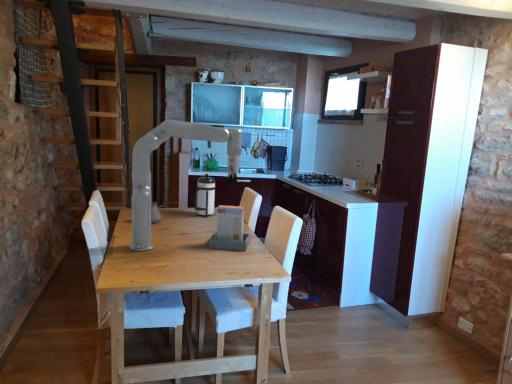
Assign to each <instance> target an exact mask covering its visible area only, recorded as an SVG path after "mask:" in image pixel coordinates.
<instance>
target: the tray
mask: <svg viewBox="0 0 512 384" xmlns="http://www.w3.org/2000/svg"><path fill="white" fill-rule="evenodd" d="M216 238H217V230H215V231H214V232H213V234H212V235H211V236H210V237H209V239H208V248H209V249H218V250H229V251H238V252H239V251H241V252H246V251H247V249H248V246H249V244H250V239H251V234H250V233H247V232H246V233H244V232H243V241H232V240H220V239H216Z"/></svg>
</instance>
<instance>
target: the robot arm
mask: <svg viewBox="0 0 512 384" xmlns="http://www.w3.org/2000/svg"><path fill="white" fill-rule="evenodd" d="M242 137H243V130H242V129H240V128H235V127H232V128H226V127H223V126H222V127H220V126H219V127H218V126H210V125H205V124H201V123H198V122H197V123H196V122H190V121H182V120H174V119H166V120H164V121H162V122H161V123H160V124H159V125H157V126H156V127H154V128H153V129H152V130H150V131H149V132H147V133H145V135H143V136H142V137H140V138H139V139H137V141H136V142H135V144H134V146H133V148H132V159H131V162H132V164H131V165H132V172H131V178H132V179H131V181H132V182H131V183H132V194H131V243H130V244H129V245H128V249H129V250H131V251H136V252H146V251H150V250H152V249H154V247H155V244H154V243H152V224H151V202H152V172H151V166H150V165H151V154H152V152H153V151H154V150H155V151H156V150H157V149H158V148H159V147H160V145H161V144H163V143H164V142H166V141H168V139H170V138H177V139H186V140H193V141H194V140H195V141H205V142H214V143H227V144H226V155H228V157H227V183H226V184H227V186H234V184H236V183H237V181H238V180H237V179H238V176H237V174H238V173H239V172H240V156H242V155H241V154H242Z"/></svg>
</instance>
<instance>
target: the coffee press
mask: <svg viewBox="0 0 512 384" xmlns="http://www.w3.org/2000/svg"><path fill="white" fill-rule="evenodd" d="M196 181H197V182H196V183H197V186H196V187H197V188H195V191H194V194H193V209H194V210H195V212H194V215H196V216H198V215H201V216H205V218H207V219H208V216H211V215H214V216H217V215H216V214H217V213H215V201H216V200H215V199H216V198H215V197H216V196H215V195H216V180H215V178H214V177H211V176H209V174H208V173H205V174H204V176H200V177H198V179H197V180H196Z"/></svg>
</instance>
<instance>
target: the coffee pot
mask: <svg viewBox="0 0 512 384" xmlns="http://www.w3.org/2000/svg"><path fill="white" fill-rule="evenodd" d="M174 203H175V204H177V203H178V202H177V200H174V201H173V200H172V201H171V202H167V203H164V204H162V205H158V202H157V201H151V225H152V224H158V223H159V222H160V221H161V220H162V214H161V213H160V211H159V208H162V207H165V206H169V205H171V204H174Z"/></svg>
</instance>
